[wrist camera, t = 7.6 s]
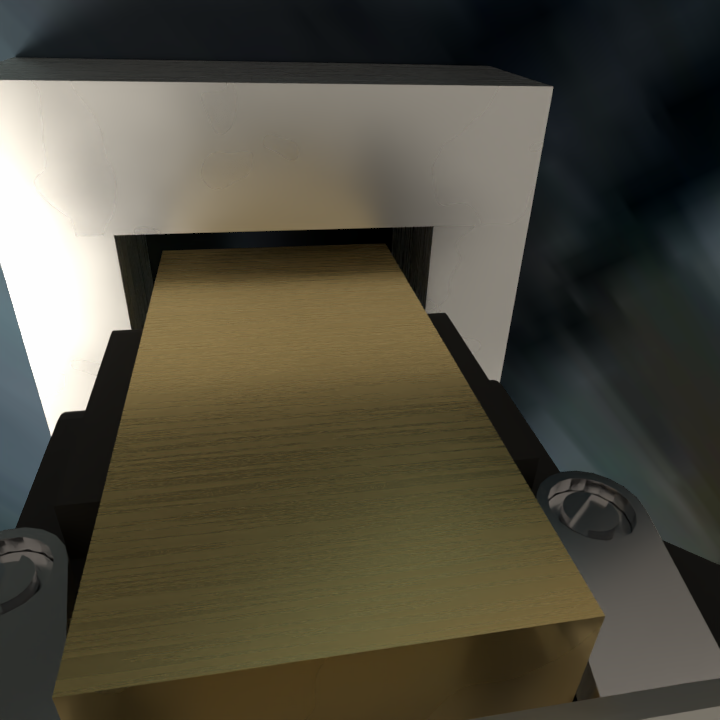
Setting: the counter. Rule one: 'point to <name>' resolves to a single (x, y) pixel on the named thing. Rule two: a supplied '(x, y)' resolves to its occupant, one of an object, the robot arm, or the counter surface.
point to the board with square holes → (255, 185)
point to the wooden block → (313, 515)
